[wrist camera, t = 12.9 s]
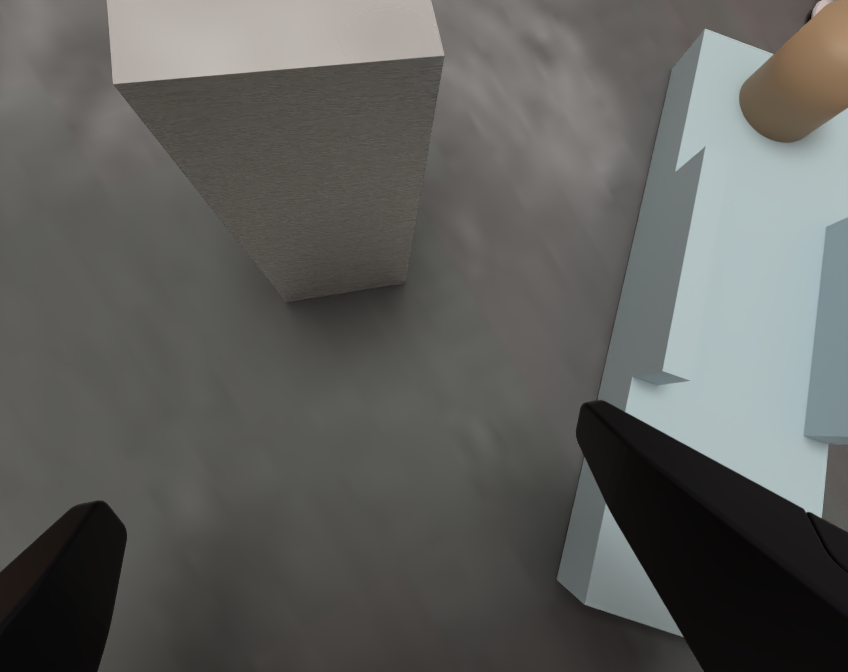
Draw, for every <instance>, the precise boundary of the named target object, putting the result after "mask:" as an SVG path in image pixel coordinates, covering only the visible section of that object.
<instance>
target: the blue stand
mask: <svg viewBox="0 0 848 672" xmlns="http://www.w3.org/2000/svg"><path fill="white" fill-rule="evenodd" d="M597 400H604V401H606V402H608V403H610V404H612V405H614V406H616V407H617V408H619V409H621V410H623V411H625V412H627V413H628V414H630V415H632V416H634V417H636V418H638V419H639V420H641V421H643V422H645V423H647V424H649V425H651V426H652V427H654V428H656V429H658V430H660V431H662V432H663V433H665V434H667V435H669V436H671V437H673V438H674V439H676V440H678V441H680V442H682V443H684V444H686V445H687V446H689V447H691V448H693V449H695V450H697V451H698V452H700V453H702V454H704V455H706V456H708V457H710V458H711V459H713V460H715V461H717V462H719V463H721V464H722V465H724V466H726V467H728V468H730V469H732V470H733V471H735V472H737V473H739V474H741V475H743V476H745V477H746V478H748V479H750V480H752V481H754V482H756V483H757V484H759V485H761V486H763V487H765V488H767V489H768V490H770V491H772V492H774V493H776V494H778V495H780V496H781V497H783V498H785V499H787V500H789V501H791V502H792V503H794V504H796V505H798V506H800V507H802V508H803V509H804V510H805V511H806V512H811V513H813V514H815V515H817V516H819V517H820V518H822V509H823V498H824V488H825V477H826V466H827V456H828V445H829V444H838V445H848V0H836V1H833V2H831V3H829V4H827V5H826V6H824V7H823V8H822V9H821V10H820V11H819V12H818V13H817V14H816V15H815V16H814V17H813V18H812V19H811V20H810V21H809V22H807V23H806V24H805V25H804V26H803V27H802V28H801V29H800V30H799V31H798V32H797V33H796V34H795V35H794V36H793V37H792V38H790V39H789V40H788V41H787V42H786V43H785V44H784V45H783V46H782V47H781V48H780V49H779V50H778V51H777V52H776V53H775V54H772V53H769V52H766V51H764V50H761V49H758V48H756V47H753V46H750V45H748V44H745V43H742V42H739V41H737V40H734V39H731V38H729V37H726V36H723V35H721V34H718V33H715V32H713V31H710V30H707V29H704V31H703V32H702V33H701V34H700V35H699V37H698V38H697V39H696V40H695V42H694V43H693V44H692V45H691V46H690V48H689V49H688V50H687V51H686V53H685V54H684V55H683V56H682V57H681V59H680V60H679V61H678V62H677V63H676V65H675V66H674V67H673V68H672V71H671V75H670V80H669V84H668V89H667V93H666V97H665V102H664V106H663V111H662V115H661V120H660V124H659V128H658V133H657V137H656V142H655V146H654V151H653V155H652V159H651V164H650V168H649V173H648V177H647V182H646V186H645V190H644V195H643V199H642V204H641V208H640V213H639V217H638V221H637V226H636V230H635V235H634V239H633V244H632V248H631V252H630V257H629V261H628V266H627V270H626V275H625V279H624V283H623V288H622V292H621V297H620V301H619V306H618V310H617V314H616V319H615V323H614V328H613V332H612V337H611V341H610V345H609V350H608V354H607V359H606V363H605V368H604V372H603V376H602V381H601V385H600V390H599V394H598V399H597ZM557 581H559V582H560V583H561V584H562V585H563V586H564V587H565V588H566V589H568V590H569V591H570V592H571V593H572V594H573V595H574V596H575V597H577V598H578V599H579V600H580V601H581V602H582V603H583V604H584V605H587V606H590V607H593V608H596V609H599V610H602V611H605V612H608V613H611V614H614V615H617V616H620V617H624V618H627V619H630V620H633V621H636V622H639V623H642V624H645V625H648V626H651V627H654V628H657V629H660V630H663V631H666V632H670V633H673V634H676V635H679V636H682V637H683V635H682V634H681V632H680V630H679V628H678V627H677V625H676V623H675V622H674V620H673V618H672V617H671V615H670V613H669V611H668V610H667V608H666V606H665V605H664V603H663V601H662V600H661V598H660V596H659V594H658V593H657V591H656V589H655V588H654V586H653V584H652V583H651V581H650V579H649V577H648V576H647V574H646V572H645V571H644V569H643V567H642V566H641V564H640V562H639V560H638V559H637V557H636V555H635V554H634V552H633V550H632V549H631V547H630V545H629V543H628V542H627V540H626V538H625V537H624V535H623V533H622V532H621V530H620V528H619V526H618V525H617V523H616V521H615V520H614V518H613V516H612V514H611V512H610V511H609V509H608V507H607V505H606V502H605V500H604V498H603V496H602V494H601V492H600V490H599V487H598V485H597V483H596V481H595V479H594V477H593V474H592V472H591V470H590V468H589V466H588V463H587V461H586V459H585V457H584V461H583V465H582V470H581V474H580V478H579V483H578V487H577V492H576V496H575V501H574V505H573V509H572V514H571V518H570V523H569V527H568V532H567V536H566V540H565V545H564V549H563V554H562V558H561V563H560V567H559V571H558V576H557Z"/></svg>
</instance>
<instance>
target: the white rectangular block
mask: <svg viewBox="0 0 848 672" xmlns="http://www.w3.org/2000/svg"><path fill="white" fill-rule="evenodd" d="M107 7H108V21H109V34H110V48H111V61H112V75H113V84H114V86H115V87H116V88H117V89H118V91H119V92H120V93H121V95H122V96H123V97H124V98H125V100H126V101H127V102H128V103H129V105H130V106H131V107H132V108H133V110H134V111H135V112H136V114H137V115H138V116H139V117H140V119H141V120H142V121H143V122H144V124H145V125H146V126H147V127H148V129H149V130H150V131H151V132H152V134H153V135H154V136H155V138H156V139H157V140H158V141H159V143H160V144H161V145H162V146H163V148H164V149H165V150H166V151H167V153H168V154H169V155H170V157H171V158H172V159H173V160H174V162H175V163H176V164H177V165H178V167H179V168H180V169H181V170H182V172H183V173H184V174H185V175H186V177H187V178H188V179H189V181H190V182H191V183H192V184H193V186H194V187H195V188H196V189H197V191H198V192H199V193H200V194H201V196H202V197H203V198H204V199H205V201H206V202H207V203H208V205H209V206H210V207H211V208H212V210H213V211H214V212H215V213H216V215H217V216H218V217H219V218H220V220H221V221H222V222H223V224H224V225H225V226H226V227H227V229H228V230H229V231H230V232H231V234H232V235H233V236H234V237H235V239H236V240H237V241H238V242H239V244H240V245H241V246H242V248H243V249H244V250H245V251H246V253H247V254H248V255H249V256H250V258H251V259H252V260H253V261H254V263H255V264H256V265H257V266H258V268H259V269H260V270H261V272H262V273H263V274H264V275H265V277H266V278H267V279H268V280H269V282H270V283H271V284H272V285H273V287H274V288H275V289H276V291H277V292H278V293H279V294H280V296H281V297H282V298H283V299H284V301H285V302H291V301H298V300H304V299H310V298H316V297H323V296H329V295H335V294H341V293H348V292H354V291H360V290H366V289H373V288H379V287H385V286H391V285H398V284H404V283H405V282H406V277H407V271H408V265H409V259H410V253H411V247H412V242H413V236H414V230H415V224H416V218H417V213H418V207H419V201H420V195H421V189H422V183H423V178H424V172H425V166H426V160H427V154H428V148H429V143H430V137H431V131H432V125H433V119H434V114H435V108H436V102H437V96H438V90H439V84H440V79H441V73H442V67H443V61H444V52H443V48H442V43H441V39H440V35H439V31H438V27H437V23H436V19H435V15H434V11H433V7H432V3H431V0H107Z"/></svg>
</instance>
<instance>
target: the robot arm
mask: <svg viewBox="0 0 848 672" xmlns="http://www.w3.org/2000/svg"><path fill="white" fill-rule="evenodd" d="M576 438H577V441H578V444H579V446H580V448H581V450H582V452H583V455H584V457H585V459H586V461H587V463H588V466H589V468H590V470H591V472H592V474H593V477H594V479H595V481H596V483H597V485H598V487H599V490H600V492H601V494H602V496H603V498H604V500H605V502H606V505H607V507H608V509H609V511H610V512H611V514H612V516H613V518H614V520H615V521H616V523H617V525H618V526H619V528H620V530H621V532H622V533H623V535H624V537H625V538H626V540H627V542H628V543H629V545H630V547H631V549H632V550H633V552H634V554H635V555H636V557H637V559H638V560H639V562H640V564H641V566H642V567H643V569H644V571H645V572H646V574H647V576H648V577H649V579H650V581H651V583H652V584H653V586H654V588H655V589H656V591H657V593H658V594H659V596H660V598H661V600H662V601H663V603H664V605H665V606H666V608H667V610H668V611H669V613H670V615H671V617H672V618H673V620H674V622H675V623H676V625H677V627H678V628H679V630H680V632H681V634H682V635H683V637H684V639H685V640H686V642H687V644H688V645H689V647H690V649H691V651H692V652H693V654H694V656H695V657H696V659H697V661H698V662H699V664H700V666H701V668H702V669H703V671H704V672H848V532H846V531H845V530H843V529H841V528H839V527H837V526H835V525H833V524H831V523H830V522H828V521H826V520H824V519H822V518H820V517H819V516H817V515H815V514H813V513H811V512H806V511H805V510H804V509H803V508H802V507H800V506H798V505H796V504H794V503H792V502H791V501H789V500H787V499H785V498H783V497H781V496H780V495H778V494H776V493H774V492H772V491H770V490H768V489H767V488H765V487H763V486H761V485H759V484H757V483H756V482H754V481H752V480H750V479H748V478H746V477H745V476H743V475H741V474H739V473H737V472H735V471H733V470H732V469H730V468H728V467H726V466H724V465H722V464H721V463H719V462H717V461H715V460H713V459H711V458H710V457H708V456H706V455H704V454H702V453H700V452H698V451H697V450H695V449H693V448H691V447H689V446H687V445H686V444H684V443H682V442H680V441H678V440H676V439H674V438H673V437H671V436H669V435H667V434H665V433H663V432H662V431H660V430H658V429H656V428H654V427H652V426H651V425H649V424H647V423H645V422H643V421H641V420H639V419H638V418H636V417H634V416H632V415H630V414H628V413H627V412H625V411H623V410H621V409H619V408H617V407H616V406H614V405H612V404H610V403H608V402H606V401H604V400H596V401H591V402H586V403H583V404H582V406H581V408H580V413H579V418H578V423H577V428H576ZM126 541H127V532H126V528H125V526H124V524H123V523H122V521H121V520H120V519H119V518H118V516H117V515H116V514H115V513H114V511H113V510H112V509H111V508H110V506H109V505H108V504H107V503H106V502H104V501H93V502H88V503H83V504H79V505H76V506H74V507H72V508H71V509H70V510H68V511H67V512H66V513H65V514H64V515H63V516H62V517H61V518H60V519H59V520H57V521H56V522H55V523H54V524H53V525H52V526H51V527H50V528H49V529H47V530H46V531H45V532H44V533H43V534H42V535H41V536H40V537H39V538H38V539H36V540H35V541H34V542H33V543H32V544H31V545H30V546H29V547H28V548H27V549H25V550H24V551H23V552H22V553H21V554H20V555H19V556H18V557H17V558H16V559H14V560H13V561H12V562H11V563H10V564H9V565H8V566H7V567H6V568H4V569H3V570H2V571H1V572H0V672H97V671H98V668H99V665H100V661H101V658H102V655H103V651H104V648H105V644H106V640H107V637H108V633H109V629H110V625H111V620H112V616H113V610H114V605H115V600H116V594H117V589H118V584H119V578H120V573H121V568H122V562H123V557H124V552H125V546H126Z"/></svg>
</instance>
